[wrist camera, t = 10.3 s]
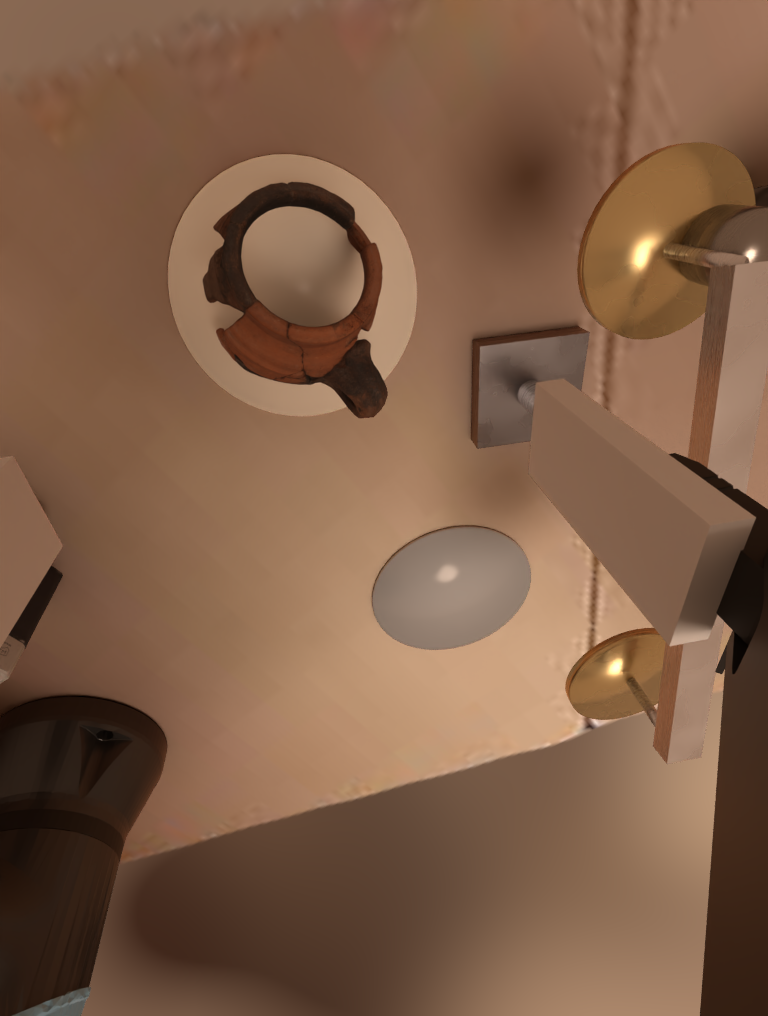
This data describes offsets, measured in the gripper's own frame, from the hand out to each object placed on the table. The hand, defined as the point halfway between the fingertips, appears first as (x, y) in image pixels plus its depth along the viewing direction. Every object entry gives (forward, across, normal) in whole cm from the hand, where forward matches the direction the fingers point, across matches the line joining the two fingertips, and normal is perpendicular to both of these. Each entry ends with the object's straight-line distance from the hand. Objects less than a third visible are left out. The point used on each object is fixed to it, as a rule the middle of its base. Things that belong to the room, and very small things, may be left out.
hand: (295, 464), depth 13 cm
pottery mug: (+20, -1, 0) cm, 20 cm away
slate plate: (+20, -9, +25) cm, 33 cm away
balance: (+20, -14, +7) cm, 25 cm away
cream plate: (+20, 0, 0) cm, 20 cm away
